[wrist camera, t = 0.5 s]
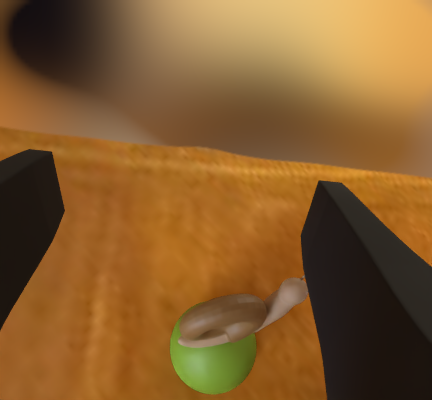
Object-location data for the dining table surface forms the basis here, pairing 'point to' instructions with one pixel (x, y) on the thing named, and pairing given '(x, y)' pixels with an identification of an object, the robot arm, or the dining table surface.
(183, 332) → the snail figurine
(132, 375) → the dining table surface
